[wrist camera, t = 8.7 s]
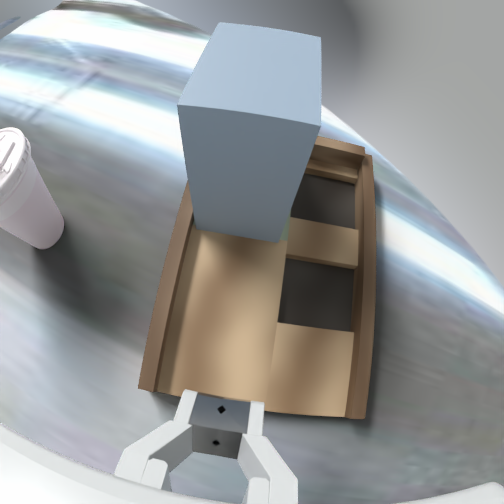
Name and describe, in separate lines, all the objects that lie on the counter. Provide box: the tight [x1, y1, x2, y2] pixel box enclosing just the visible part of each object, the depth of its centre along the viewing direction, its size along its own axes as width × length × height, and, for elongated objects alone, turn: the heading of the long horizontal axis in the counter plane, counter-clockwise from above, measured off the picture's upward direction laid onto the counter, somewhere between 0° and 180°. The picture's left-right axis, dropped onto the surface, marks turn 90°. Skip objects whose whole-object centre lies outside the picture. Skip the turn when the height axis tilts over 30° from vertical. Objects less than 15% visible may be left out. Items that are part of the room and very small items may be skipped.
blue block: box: [177, 23, 321, 243], centre depth 19 cm, size 6×8×12 cm
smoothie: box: [0, 128, 64, 249], centre depth 17 cm, size 6×6×14 cm
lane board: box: [138, 136, 376, 419], centre depth 22 cm, size 14×21×3 cm
